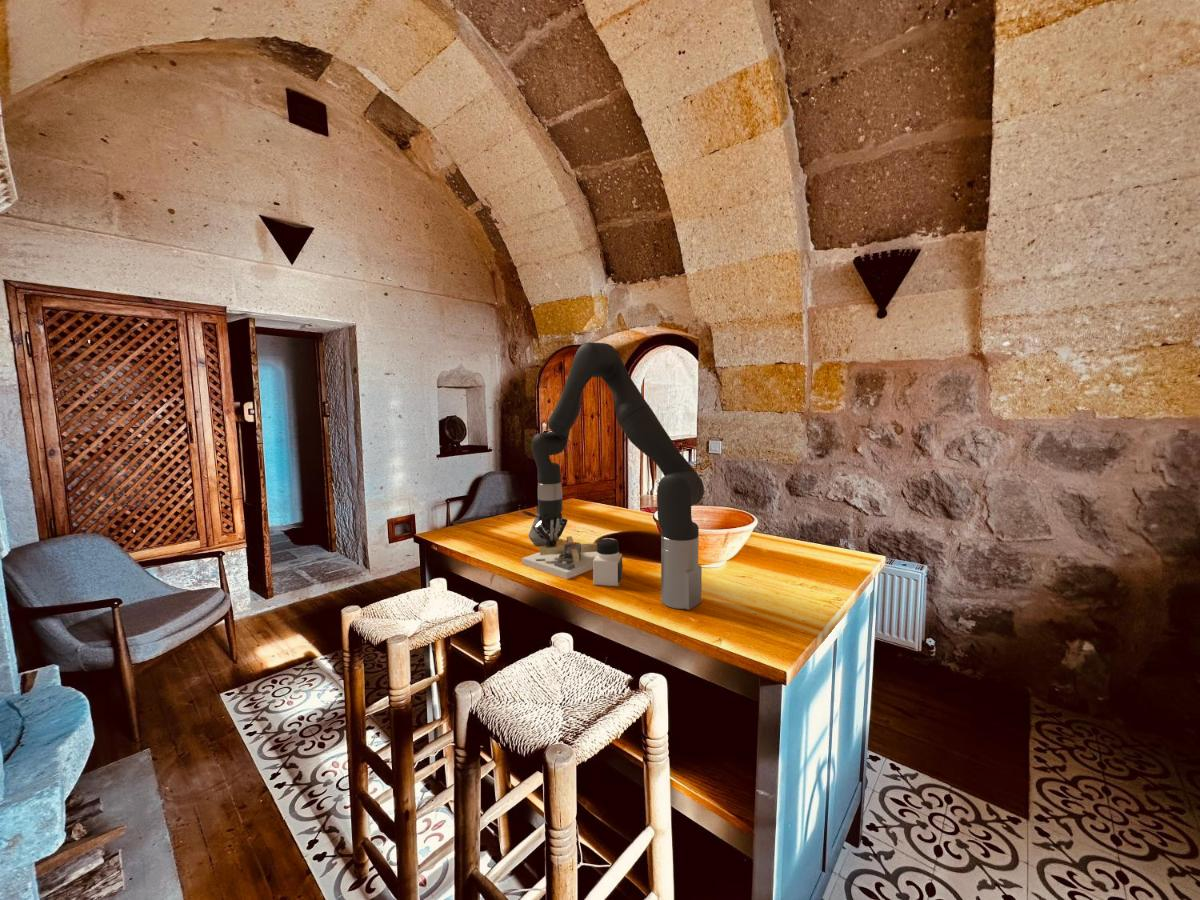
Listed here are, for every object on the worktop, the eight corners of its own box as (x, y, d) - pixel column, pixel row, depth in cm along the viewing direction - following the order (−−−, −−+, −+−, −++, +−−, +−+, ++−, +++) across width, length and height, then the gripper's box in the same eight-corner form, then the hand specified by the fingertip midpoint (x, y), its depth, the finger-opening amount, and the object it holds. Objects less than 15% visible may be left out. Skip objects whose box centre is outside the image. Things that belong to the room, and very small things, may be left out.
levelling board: (609, 562, 156) (609, 550, 155) (566, 579, 142) (566, 566, 141) (565, 549, 169) (565, 539, 168) (522, 564, 155) (521, 552, 154)
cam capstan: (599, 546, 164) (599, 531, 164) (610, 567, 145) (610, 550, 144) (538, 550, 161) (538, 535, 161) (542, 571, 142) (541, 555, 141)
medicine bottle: (618, 586, 136) (618, 544, 134) (593, 585, 137) (592, 543, 136) (622, 577, 142) (622, 536, 141) (598, 575, 144) (597, 535, 143)
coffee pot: (538, 536, 185) (536, 497, 183) (566, 539, 181) (565, 499, 179) (507, 554, 165) (506, 510, 163) (538, 557, 161) (537, 512, 159)
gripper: (542, 502, 145) (543, 559, 147) (573, 494, 155) (574, 548, 157) (525, 498, 150) (527, 554, 152) (557, 492, 160) (558, 544, 162)
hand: (551, 551), depth 154 cm, fingers closed
